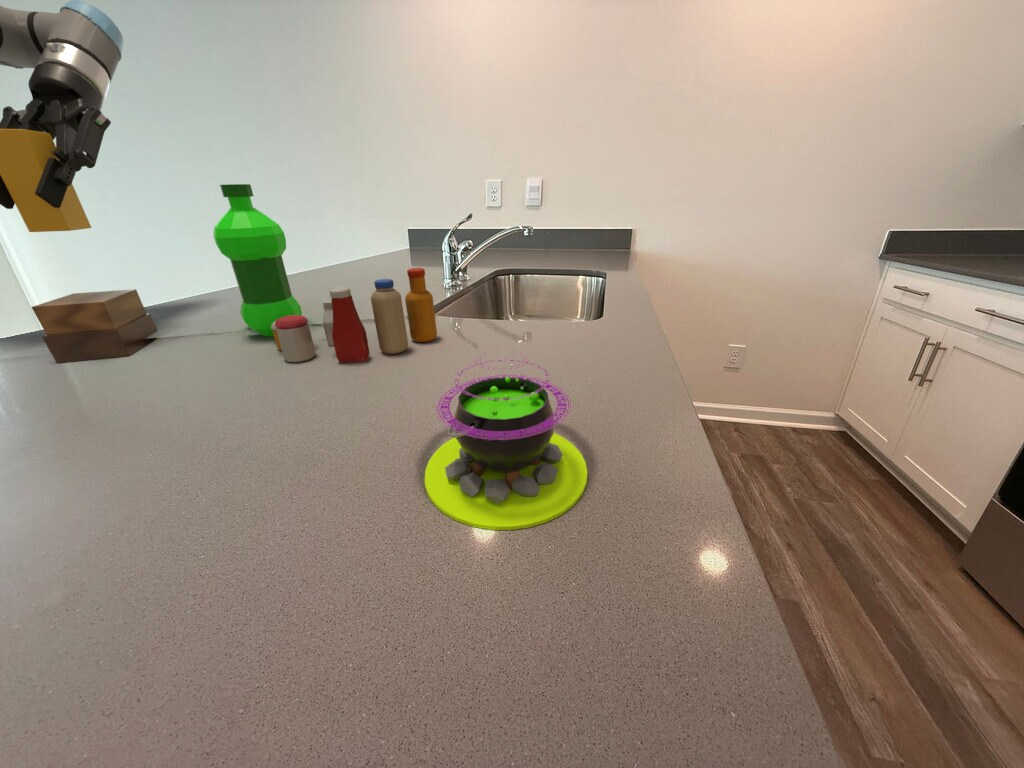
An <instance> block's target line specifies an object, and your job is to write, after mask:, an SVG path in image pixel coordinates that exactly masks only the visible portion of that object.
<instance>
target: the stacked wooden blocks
mask: <svg viewBox="0 0 1024 768" xmlns="http://www.w3.org/2000/svg"><path fill="white" fill-rule="evenodd" d="M31 310H32V311H33V313H34V315H35V316H36V318H37V320H38V322H39V324H40V325H41V327H42V329H43V331H44V333H45V335H42V336H41V338H42V339H43V341H44V343H45V345H46V347H47V348H48V350H49V352H50V353H51V355H52V357H53V359H54V361H55V363H56V364H61V363H62V364H63V363H71V362H72V363H73V362H80V361H81V362H82V361H83V362H84V361H92V360H103V359H113V358H122V357H130V356H132V355H133V354H135V353H136V352H139V351H140V350H141V349H143V348H145V347H146V346H148V345H150V344H151V343H153V342H154V341H156V340H158V339H159V338H160V337H158V336H157V337H150V336H151V335H153V334H155V333H157V332H158V331H159V330H158V328H157V325H156V323H155V320H154V318H153V316H152V313H147V311H146V309H145V307H144V304H143V302H142V300H141V297H140V295H139V292H138V290H137V289H136V288H134V289H119V290H104V291H103V290H102V291H89V292H75V293H71V294H67V295H64V296H61V297H58V298H55V299H52V300H49V301H46V302H42V303H40V304H36V305H34V306H31Z"/></svg>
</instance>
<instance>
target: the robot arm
mask: <svg viewBox="0 0 1024 768" xmlns="http://www.w3.org/2000/svg"><path fill="white" fill-rule="evenodd" d="M123 48H124V37H123V34H122V32H121V30H120V28H119V27H118V26H117V25H116V23H115V22H114V21H113V20H112V18H110V16H108V15H107V14H106V13H105V12H104V11H103V10H101V9H100V8H98V7H96V6H95V5H93V4H90V3H88V2H86V1H83V0H68V1H66V2H65V4H64V5H62V6H61V7H60V8H59V12H46V11H32V10H31V11H30V10H21V9H13V8H9V7H6V6H2V5H0V66H5V67H9V68H15V69H18V70H19V69H20V70H21V69H22V70H23V69H33V71H32V74H31V75H30V77H29V80H28V88H29V91H30V95H31V97H32V99H31V100H30V101H29V102H28V103H27V104H26V105H25V109H19V110H15V108H13V107H12V106H11V105H8V106H7V105H6V106H5V107H3V109H2V118H1V120H0V129H25V130H31V131H37V132H44V133H50V135H51V137H52V139H53V141H54V140H55V146H56V150H55V151H53V152H55V153H53V152H52V151H51V153H53V154H54V155H55V156H56V157H57V158H59V159H60V160H59V161H58V160H57V159H55V158H49V159H48V161H47V164H46V166H45V169H44V171H43V174H42V176H41V179H40V181H39V184H38V186H37V189H36V191H35V194H36V195H37V196H39V197H40V198H42V199H43V200H44V201H46V202H47V203H49V204H50V205H51V206H53V207H54V208H60V206H61V204H62V201H63V198H64V196H65V193H66V190H67V188H68V186H70V185H71V184H72V185H73V181H74V179H75V176H76V173H77V172H80V171H81V170H82V168H83V167H86V168H88V169H93V168H94V167H95V166H96V164H97V160H98V157H99V153H100V150H101V146H102V142H103V139H104V135H105V132H106V130H107V129H108V128H109V127H110V126H111V123H112V121H111V120H110V119H109V118H108V117H107V116H106V114H104V113H103V111H101V110H102V108H103V105H104V103H105V101H106V98H107V96H108V92H109V89H110V86H111V82H112V80H113V77H114V75H115V73H116V69H117V67H118V64H119V62H120V61H121V60H122V53H123ZM15 205H16V204H15V202H14V201H13V199H12V197H11V195H10V193H9V191H8V189H7V187H6V185H5V183H4V181H3V179H2V177H1V175H0V206H2V207H3V208H5V209H7V210H14V207H15Z"/></svg>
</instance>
